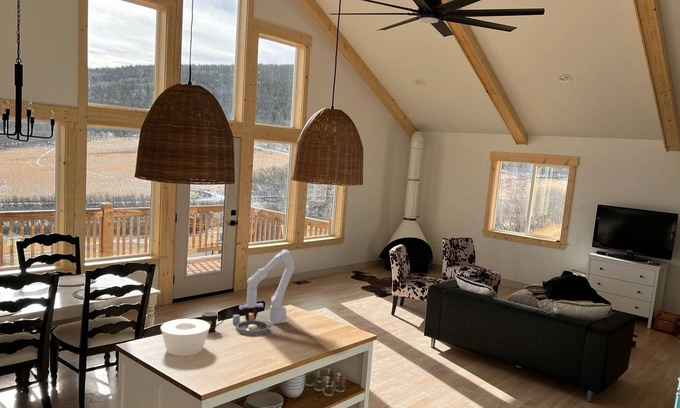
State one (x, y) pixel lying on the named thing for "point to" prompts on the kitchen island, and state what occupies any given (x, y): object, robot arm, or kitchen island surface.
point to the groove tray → (252, 327)
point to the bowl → (185, 336)
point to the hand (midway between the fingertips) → (250, 319)
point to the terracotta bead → (251, 316)
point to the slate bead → (236, 319)
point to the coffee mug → (211, 319)
